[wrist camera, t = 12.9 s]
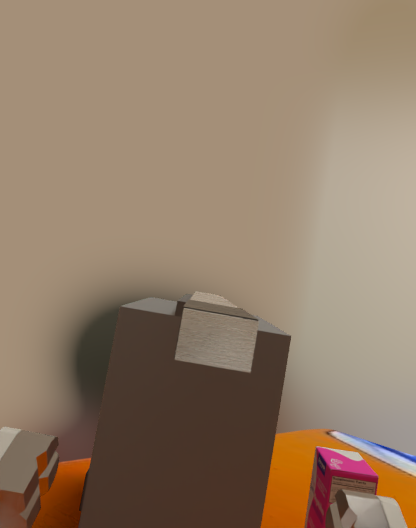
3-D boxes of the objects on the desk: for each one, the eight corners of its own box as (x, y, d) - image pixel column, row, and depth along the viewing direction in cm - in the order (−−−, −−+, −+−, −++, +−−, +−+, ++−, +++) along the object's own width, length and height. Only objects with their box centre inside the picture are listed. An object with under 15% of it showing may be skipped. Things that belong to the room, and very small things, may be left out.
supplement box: (301, 534, 45) (315, 444, 46) (347, 543, 45) (360, 452, 46) (314, 571, 40) (330, 467, 40) (367, 581, 40) (382, 476, 40)
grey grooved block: (227, 494, 51) (258, 306, 53) (244, 629, 31) (293, 320, 33) (111, 474, 51) (146, 286, 53) (53, 597, 31) (112, 289, 33)
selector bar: (218, 312, 42) (221, 295, 42) (251, 374, 14) (260, 320, 14) (192, 308, 42) (195, 290, 42) (172, 360, 14) (182, 307, 14)
